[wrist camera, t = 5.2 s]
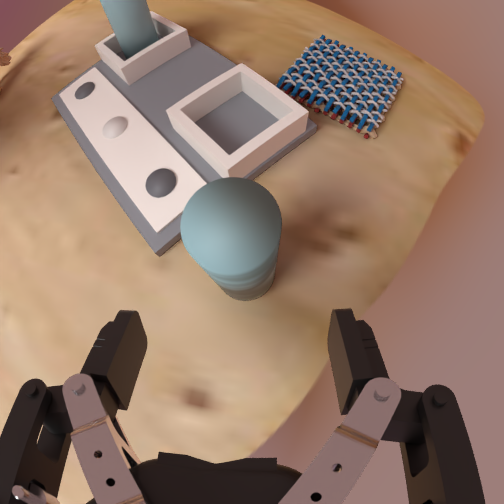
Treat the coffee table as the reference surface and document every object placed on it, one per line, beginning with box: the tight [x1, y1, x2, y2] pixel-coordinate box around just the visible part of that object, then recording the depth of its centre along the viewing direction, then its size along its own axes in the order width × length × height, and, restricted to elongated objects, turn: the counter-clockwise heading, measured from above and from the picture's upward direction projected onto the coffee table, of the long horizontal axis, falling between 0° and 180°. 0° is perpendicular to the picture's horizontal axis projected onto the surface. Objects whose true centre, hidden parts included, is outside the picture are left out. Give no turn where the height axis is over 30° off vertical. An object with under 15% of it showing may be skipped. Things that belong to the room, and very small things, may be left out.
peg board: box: [51, 0, 317, 257], centre depth 21 cm, size 16×24×11 cm, turn 41°
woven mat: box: [274, 35, 404, 139], centre depth 26 cm, size 10×11×2 cm
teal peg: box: [180, 177, 282, 301], centre depth 17 cm, size 4×4×10 cm
